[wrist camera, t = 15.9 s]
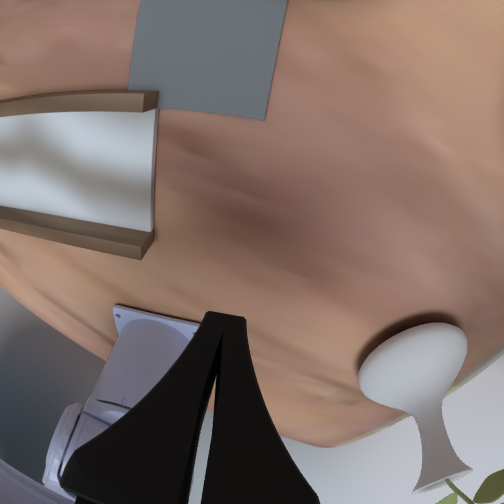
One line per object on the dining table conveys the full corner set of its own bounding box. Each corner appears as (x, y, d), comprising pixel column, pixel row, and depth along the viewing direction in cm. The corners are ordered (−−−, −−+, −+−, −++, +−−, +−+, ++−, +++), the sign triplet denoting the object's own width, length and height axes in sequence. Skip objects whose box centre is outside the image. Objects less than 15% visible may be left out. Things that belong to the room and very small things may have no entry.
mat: (264, 120, 15) (264, 120, 15) (128, 105, 15) (126, 106, 15) (290, -12, 11) (290, -13, 11) (147, -17, 11) (145, -19, 10)
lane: (153, 240, 20) (141, 260, 18) (-46, 202, 19) (-60, 212, 17) (161, 90, 14) (144, 93, 12) (-57, 114, 14) (-74, 122, 12)
